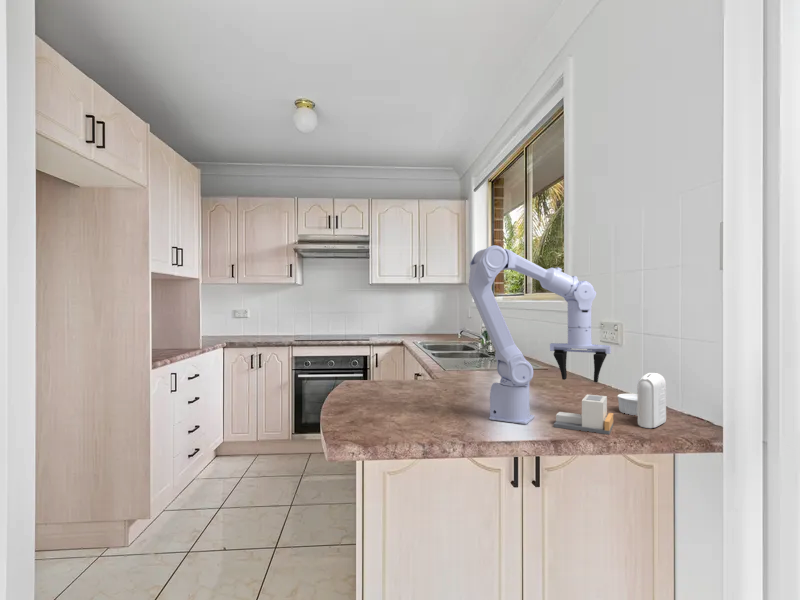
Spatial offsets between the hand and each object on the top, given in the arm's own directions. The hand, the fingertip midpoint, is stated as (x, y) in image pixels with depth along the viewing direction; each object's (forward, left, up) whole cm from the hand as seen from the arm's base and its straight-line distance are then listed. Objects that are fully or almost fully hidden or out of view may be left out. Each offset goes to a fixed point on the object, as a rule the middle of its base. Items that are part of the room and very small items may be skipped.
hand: (579, 380), depth 115 cm
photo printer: (+16, +1, -10) cm, 19 cm away
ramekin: (+12, +12, -10) cm, 20 cm away
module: (+4, -8, -9) cm, 13 cm away
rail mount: (+2, -9, -9) cm, 13 cm away
